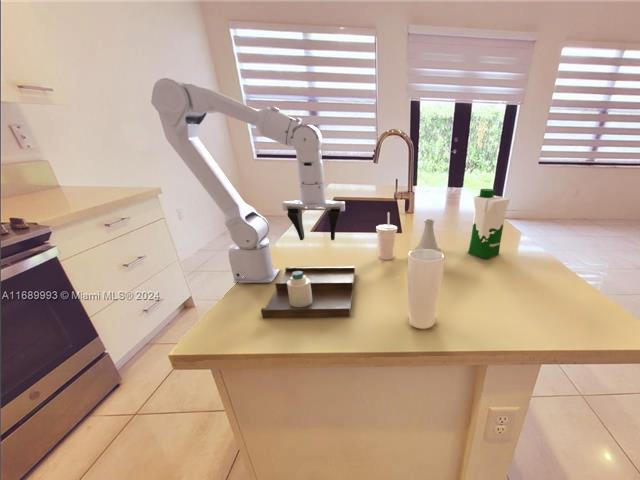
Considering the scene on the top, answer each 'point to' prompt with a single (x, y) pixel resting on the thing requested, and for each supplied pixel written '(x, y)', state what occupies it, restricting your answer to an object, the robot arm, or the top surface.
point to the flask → (428, 237)
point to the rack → (315, 293)
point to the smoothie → (386, 239)
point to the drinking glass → (424, 286)
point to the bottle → (299, 290)
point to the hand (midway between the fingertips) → (317, 239)
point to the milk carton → (487, 224)
